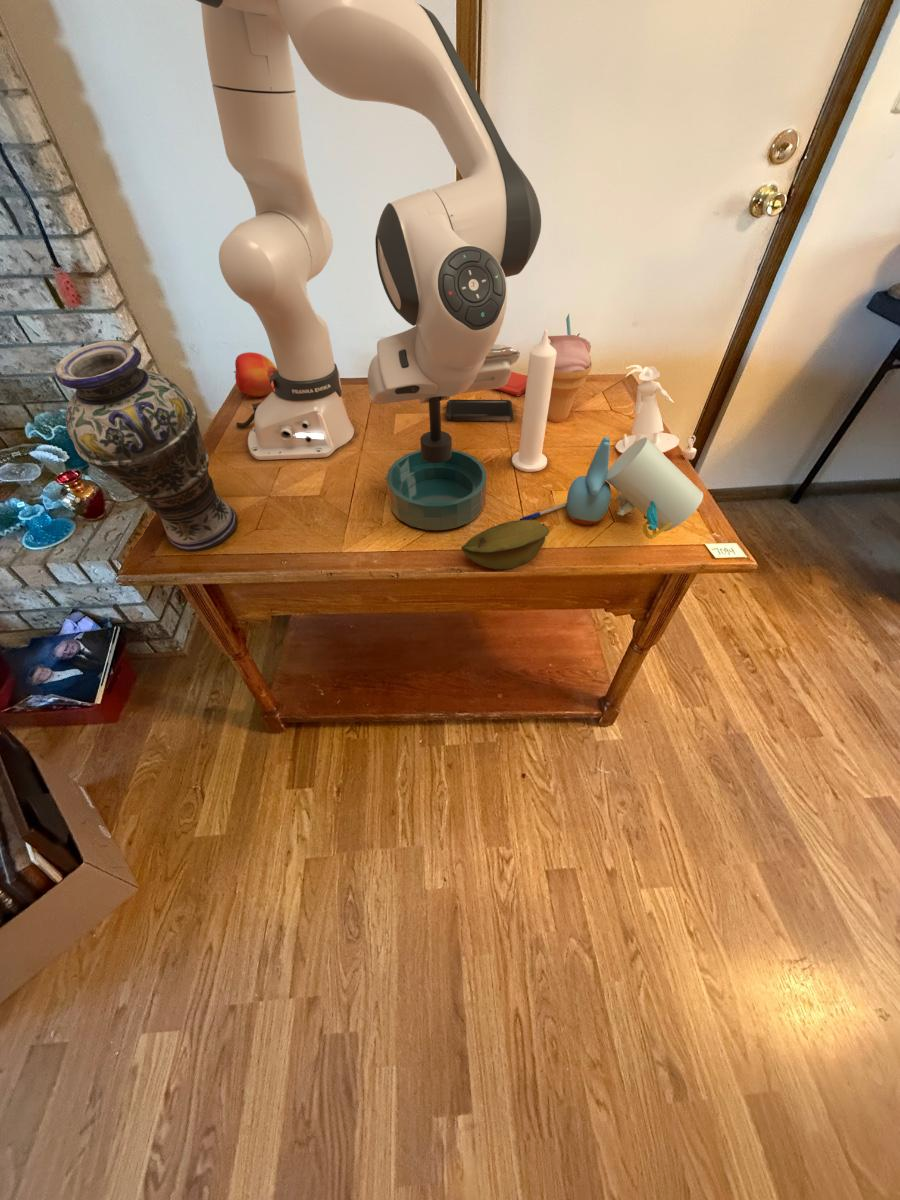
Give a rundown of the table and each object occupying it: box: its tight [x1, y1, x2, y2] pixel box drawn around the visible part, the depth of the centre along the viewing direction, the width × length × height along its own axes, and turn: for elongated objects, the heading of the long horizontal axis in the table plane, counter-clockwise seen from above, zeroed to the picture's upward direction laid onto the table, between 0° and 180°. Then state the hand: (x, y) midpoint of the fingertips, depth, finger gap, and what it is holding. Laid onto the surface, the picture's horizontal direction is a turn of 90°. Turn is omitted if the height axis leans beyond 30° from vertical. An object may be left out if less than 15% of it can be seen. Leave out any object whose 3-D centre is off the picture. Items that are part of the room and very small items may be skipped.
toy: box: [566, 436, 612, 525], centre depth 83 cm, size 10×7×15 cm
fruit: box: [460, 519, 551, 570], centre depth 79 cm, size 11×12×7 cm
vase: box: [54, 340, 238, 552], centre depth 74 cm, size 17×17×30 cm
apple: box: [233, 351, 277, 398], centre depth 117 cm, size 10×10×10 cm
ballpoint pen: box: [519, 502, 567, 520], centre depth 88 cm, size 10×1×1 cm, turn 116°
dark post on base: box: [419, 396, 453, 463], centre depth 77 cm, size 5×5×18 cm
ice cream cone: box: [547, 313, 593, 423], centre depth 104 cm, size 11×11×20 cm
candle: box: [511, 329, 557, 473], centre depth 91 cm, size 7×7×25 cm
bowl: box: [385, 448, 488, 531], centre depth 89 cm, size 18×18×6 cm
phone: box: [445, 399, 514, 422], centre depth 113 cm, size 8×1×15 cm
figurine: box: [614, 364, 698, 461], centre depth 96 cm, size 16×12×20 cm
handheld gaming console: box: [496, 371, 527, 397], centre depth 123 cm, size 9×1×15 cm
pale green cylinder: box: [606, 438, 704, 540], centre depth 83 cm, size 20×12×13 cm
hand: (433, 396), depth 77 cm, fingers closed on dark post on base
